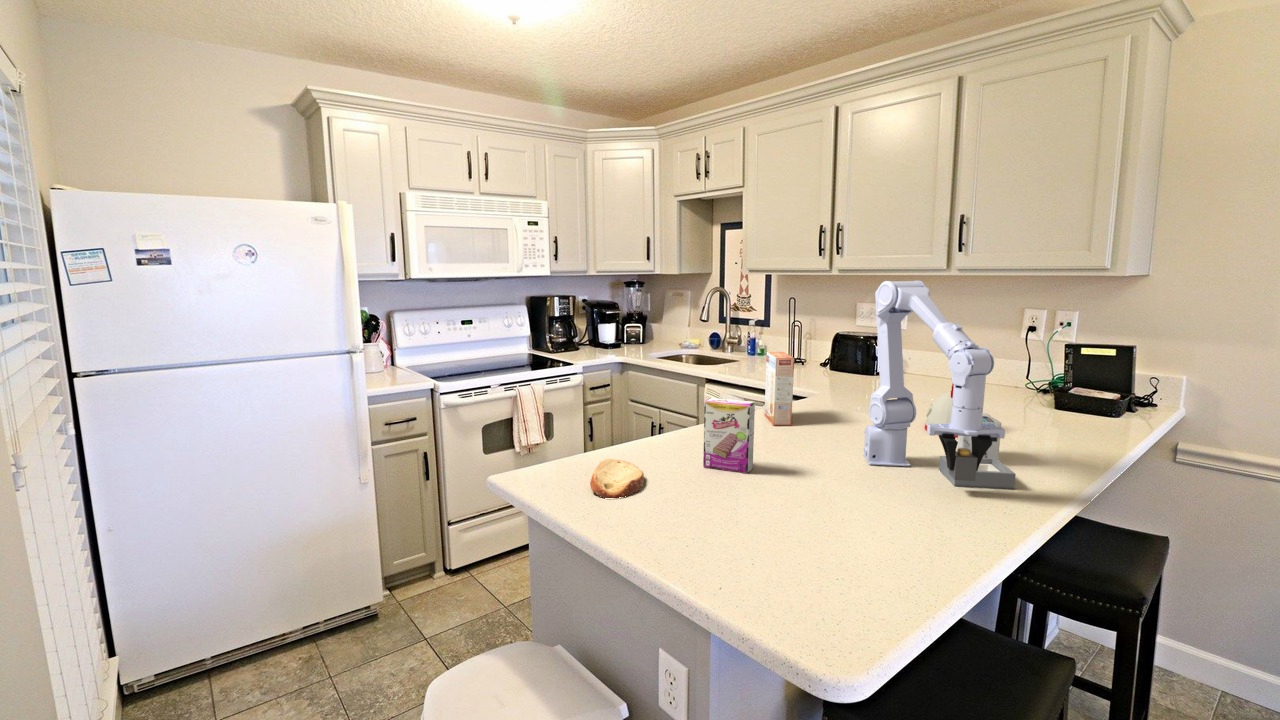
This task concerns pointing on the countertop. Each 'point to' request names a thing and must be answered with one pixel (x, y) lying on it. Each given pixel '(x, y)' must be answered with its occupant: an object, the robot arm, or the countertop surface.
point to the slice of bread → (616, 479)
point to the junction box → (984, 475)
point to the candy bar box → (728, 434)
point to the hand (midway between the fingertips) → (962, 469)
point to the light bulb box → (994, 448)
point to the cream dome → (941, 410)
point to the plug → (964, 465)
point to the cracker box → (779, 388)
